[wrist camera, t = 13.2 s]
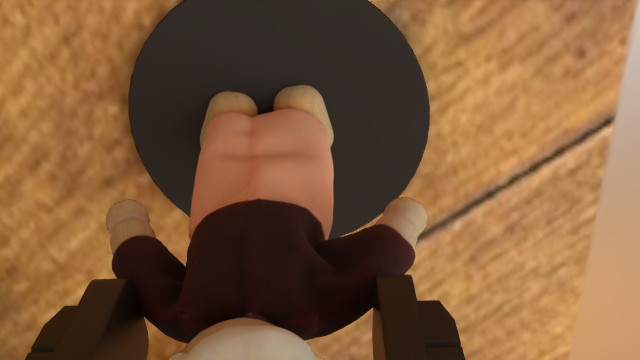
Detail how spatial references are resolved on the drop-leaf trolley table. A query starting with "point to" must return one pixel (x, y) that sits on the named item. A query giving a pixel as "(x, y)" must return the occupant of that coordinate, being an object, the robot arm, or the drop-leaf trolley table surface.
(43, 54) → the drop-leaf trolley table surface
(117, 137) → the drop-leaf trolley table surface
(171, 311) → the grandmother figurine
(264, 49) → the coaster
